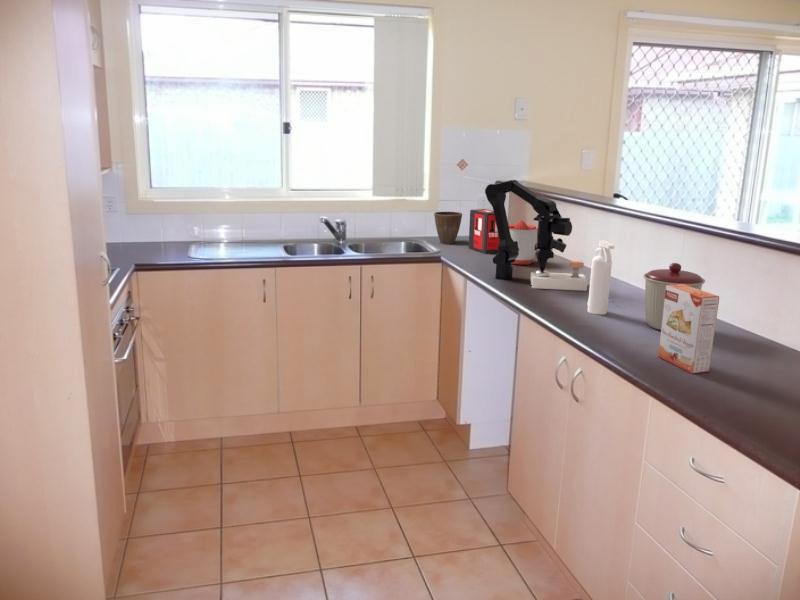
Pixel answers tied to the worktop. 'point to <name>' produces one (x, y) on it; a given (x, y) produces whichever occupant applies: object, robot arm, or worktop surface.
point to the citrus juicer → (524, 241)
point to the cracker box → (688, 327)
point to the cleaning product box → (483, 232)
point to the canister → (657, 290)
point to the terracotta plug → (576, 267)
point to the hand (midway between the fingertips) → (542, 271)
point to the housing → (559, 281)
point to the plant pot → (447, 226)
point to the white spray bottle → (600, 279)
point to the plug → (542, 273)
